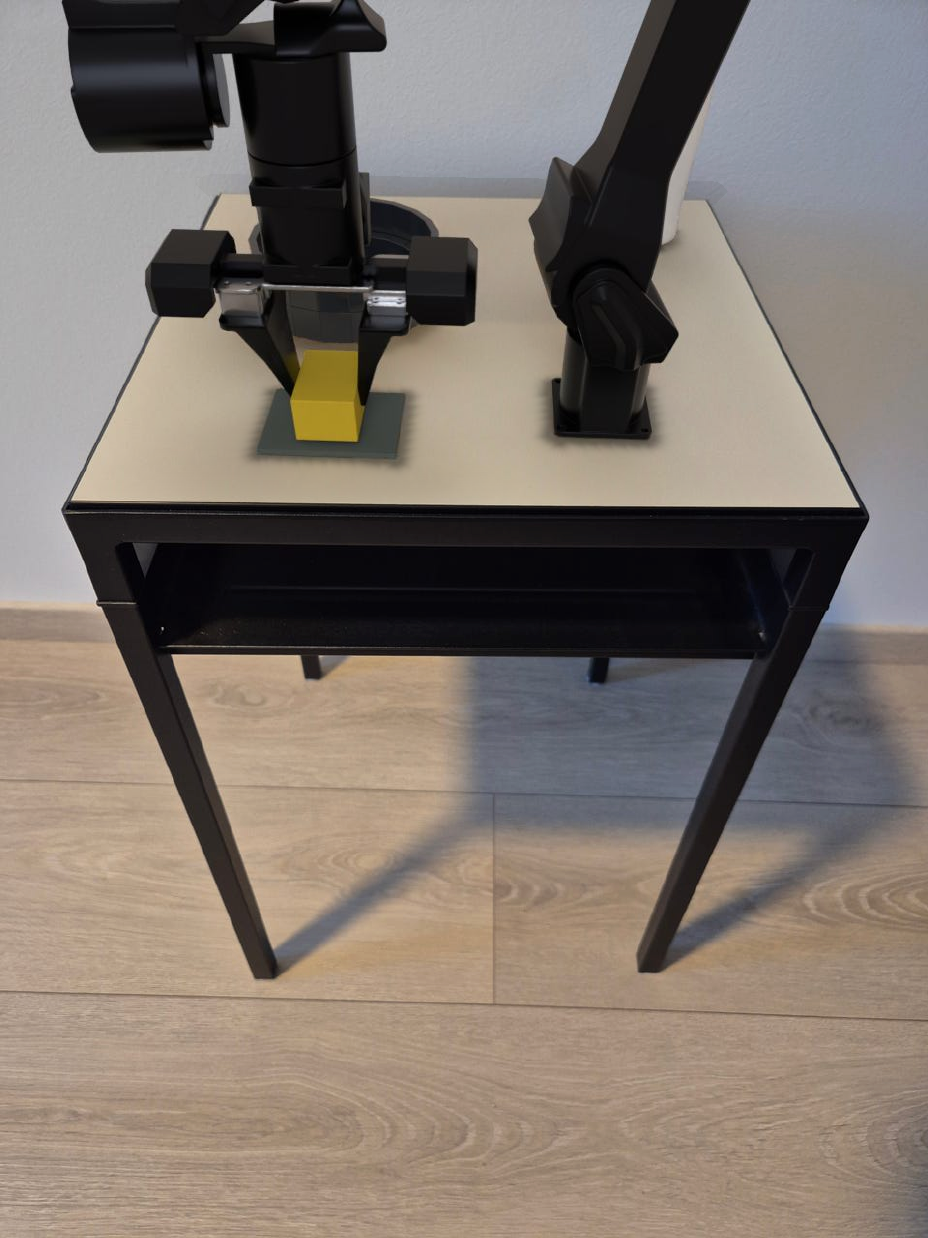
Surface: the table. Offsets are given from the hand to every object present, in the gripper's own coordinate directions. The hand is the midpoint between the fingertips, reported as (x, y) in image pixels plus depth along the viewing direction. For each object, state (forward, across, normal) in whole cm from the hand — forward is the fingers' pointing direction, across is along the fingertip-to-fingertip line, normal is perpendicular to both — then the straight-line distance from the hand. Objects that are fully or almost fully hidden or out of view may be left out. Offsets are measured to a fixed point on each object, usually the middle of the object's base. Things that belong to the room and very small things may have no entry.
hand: (332, 401), depth 57 cm
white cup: (+2, -24, -30) cm, 39 cm away
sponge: (+1, 0, 0) cm, 1 cm away
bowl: (+2, +1, -16) cm, 17 cm away
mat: (+2, 0, 0) cm, 2 cm away
